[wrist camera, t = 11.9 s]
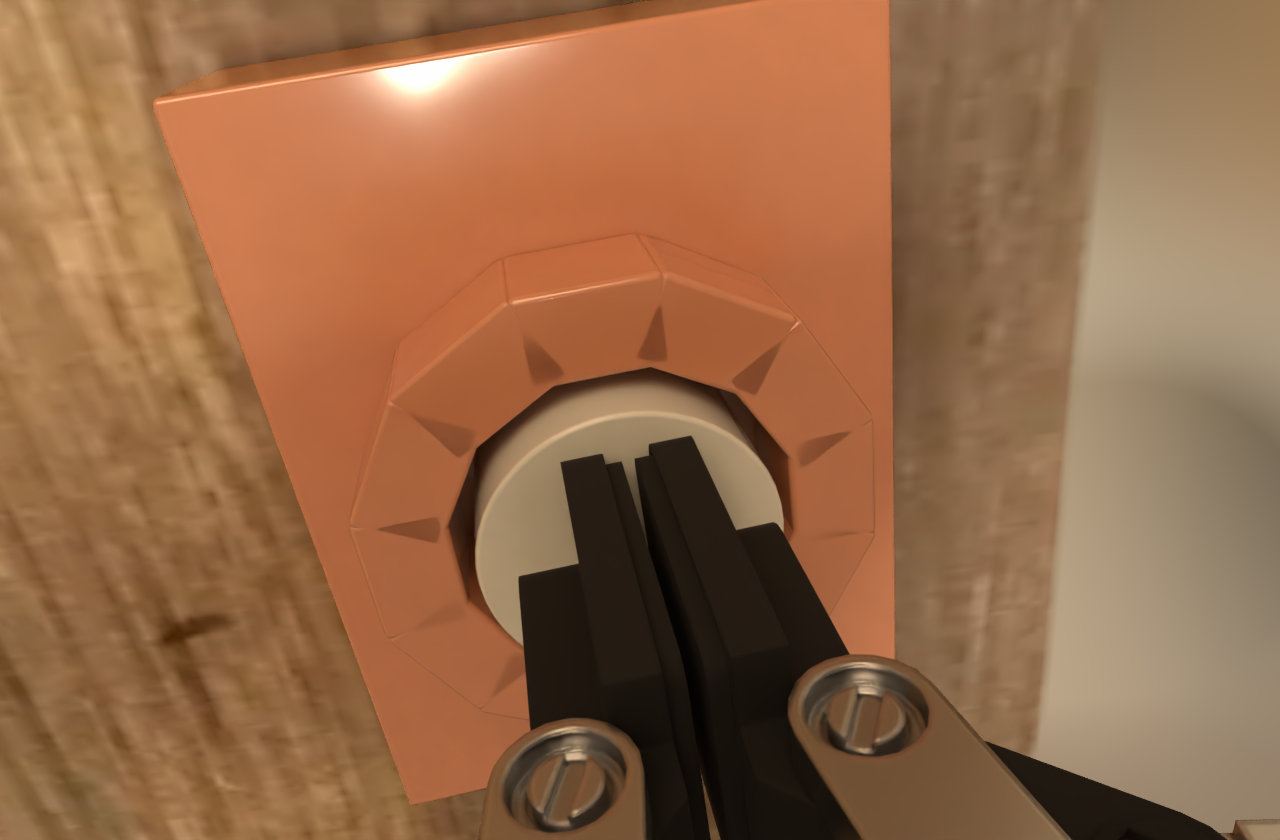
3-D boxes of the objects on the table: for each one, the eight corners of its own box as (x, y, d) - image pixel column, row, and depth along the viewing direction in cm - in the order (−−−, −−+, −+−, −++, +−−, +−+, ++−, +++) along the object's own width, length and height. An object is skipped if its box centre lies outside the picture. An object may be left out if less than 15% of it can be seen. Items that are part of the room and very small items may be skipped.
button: (753, 555, 15) (794, 639, 13) (504, 610, 14) (510, 703, 12) (731, 323, 13) (775, 383, 11) (444, 378, 12) (440, 450, 11)
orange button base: (835, 588, 20) (942, 769, 15) (417, 682, 19) (403, 901, 15) (807, -25, 14) (961, -19, 10) (214, 70, 13) (91, 125, 9)
